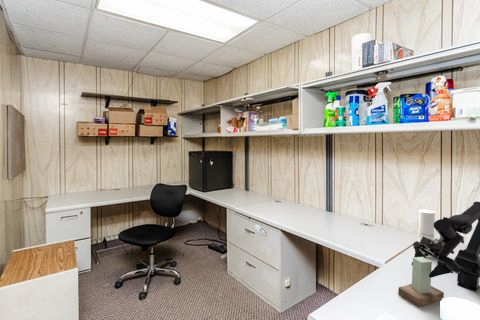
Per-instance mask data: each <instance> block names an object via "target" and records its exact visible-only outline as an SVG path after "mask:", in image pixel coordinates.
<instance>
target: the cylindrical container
mask: <svg viewBox="0 0 480 320" xmlns="http://www.w3.org/2000/svg"><path fill="white" fill-rule="evenodd" d="M435 217H436V211H433V210H432V209H431V210H429V209H419V210H418V226H417V228H418V229H417V232H418V233H417V242H420V241H421V239H422V237H423V236H424V237H426V238H428V239H430V240H434V239H435V237H434V236H435V228H434V222H436V221H435V220H436V218H435ZM429 250H430V249H429ZM432 255H433V254H432ZM426 257H427V258H426V259H428V258H429V259H430V258H433V257H432V256H430V255H429V256H426Z"/></svg>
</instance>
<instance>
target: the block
mask: <svg viewBox="0 0 480 320" xmlns="http://www.w3.org/2000/svg"><path fill="white" fill-rule="evenodd" d="M412 261H413V266H412V272H411V273H412V275H411V284H412V288H413V289H415V290H416V291H417V292H419V293H430V288H431V286H432V284H431V283H432V278H430V277H429V274H430V273H431V272H432V265H433V264H432V262H433V261H431V260H429V259H428V258H424V257H414V256H413V257H412Z"/></svg>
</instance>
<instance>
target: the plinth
mask: <svg viewBox="0 0 480 320" xmlns="http://www.w3.org/2000/svg"><path fill="white" fill-rule="evenodd" d="M397 293H398V295H399V296H400V297H402V298H404V299H405V300H407V302H410V303H412V304H414V305H415V306H416V307H418V308H421V307H424V306H427V305H431V304H433V303H437V302H439V301H438V300H440V299H442V298H444V299H445V297H444V295H445V294H444V293H445V292H444V291H442V290H441V289H438V288H436V287H435V286H432V285H431V288H430V293H419V292H417V291H416V290H415V289H413V288H412V283H410V284H407V285H402V286H398V291H397ZM440 301H441V300H440Z"/></svg>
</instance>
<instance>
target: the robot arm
mask: <svg viewBox="0 0 480 320" xmlns="http://www.w3.org/2000/svg"><path fill="white" fill-rule="evenodd" d="M476 221H477V223H476V225H475V227H474V229H473V223H475V222H476ZM434 230H435V231H436V233H438V234H439V236H440V237H439V239H437V238H434V240H430V239H428V238H426V237H424V236H423V237H422V239H421V241H420V242H418V241H414V243H412V246H413V249H414V256H413V257H424V258H426V259H428V258H427V257H426V256H429V255H430V256H432V257H431V258H433V259H436V260H437V265H436V266H435V267H434V268H433V269H431V273H430V274H429V277H430V278H431V279H432V278H436V277H438V276H442V275H447V274H454V273H455V275H456V274H457V277H456V281H457V283H456V284H457V286H460V287H462V288H465V289H468V290H471V291H473V292H477V291H478V290H479V288H480V201H477V200H476V201H474V202H473V203H472V205H470V207H468V208H467V209H466V210H464V211H463V212H462V213H461V214H453V215H452V216H450V217H446V216H444V217H443V218H441V219H437V220H436V221H435V222H434ZM472 230H473V232H472V235H471V237H470V239H469V241H468V243H467V246H466V247H465V249H459V250H458V252H457V254H456V256H455V257H454V259H452V258H451V257H449V255H450V254H452V255H454V254H455V251H454V250H455V248H457V247H458V246H459V245H460V244H464V243H465V237H464V236H463V235H461V234H464V235H467V234H470V232H471V231H472ZM429 249H430V250H429ZM432 254H433V255H432ZM411 266H412V267H413V260H412V261H411Z"/></svg>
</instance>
